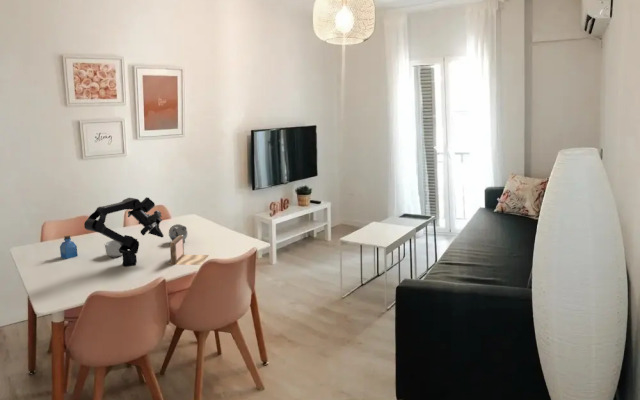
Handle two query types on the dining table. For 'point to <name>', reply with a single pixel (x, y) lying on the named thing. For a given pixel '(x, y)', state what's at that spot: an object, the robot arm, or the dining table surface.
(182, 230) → the piggy bank
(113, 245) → the teacup
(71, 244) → the perfume bottle
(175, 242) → the brown wooden slab
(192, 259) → the light tan wooden board
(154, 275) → the dining table surface
